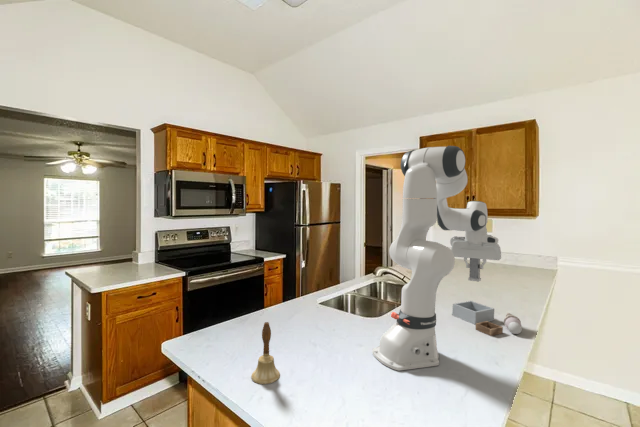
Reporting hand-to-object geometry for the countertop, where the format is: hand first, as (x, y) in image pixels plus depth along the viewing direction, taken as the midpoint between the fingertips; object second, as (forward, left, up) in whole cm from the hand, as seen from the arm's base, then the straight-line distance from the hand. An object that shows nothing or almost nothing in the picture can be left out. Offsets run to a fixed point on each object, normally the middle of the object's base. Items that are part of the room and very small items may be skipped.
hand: (474, 268), depth 140 cm
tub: (0, 0, -23) cm, 23 cm away
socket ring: (-7, -13, -23) cm, 27 cm away
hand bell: (-98, -8, -23) cm, 101 cm away
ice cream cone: (+4, -15, -23) cm, 28 cm away
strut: (0, 0, -6) cm, 6 cm away
